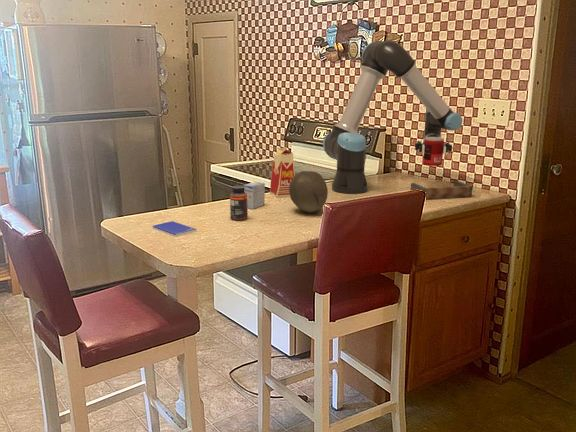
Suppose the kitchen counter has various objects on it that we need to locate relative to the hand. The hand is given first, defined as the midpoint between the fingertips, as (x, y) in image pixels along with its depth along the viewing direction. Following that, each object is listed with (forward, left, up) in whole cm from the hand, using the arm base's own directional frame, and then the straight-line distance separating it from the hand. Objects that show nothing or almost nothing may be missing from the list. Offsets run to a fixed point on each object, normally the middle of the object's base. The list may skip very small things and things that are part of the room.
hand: (434, 150), depth 233 cm
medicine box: (-76, -3, -19) cm, 78 cm away
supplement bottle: (-85, -18, -18) cm, 89 cm away
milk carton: (-60, +13, -18) cm, 64 cm away
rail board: (+3, -3, -18) cm, 19 cm away
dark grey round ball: (-59, -15, -18) cm, 63 cm away
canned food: (+2, +4, -7) cm, 8 cm away
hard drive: (-108, -26, -19) cm, 112 cm away
